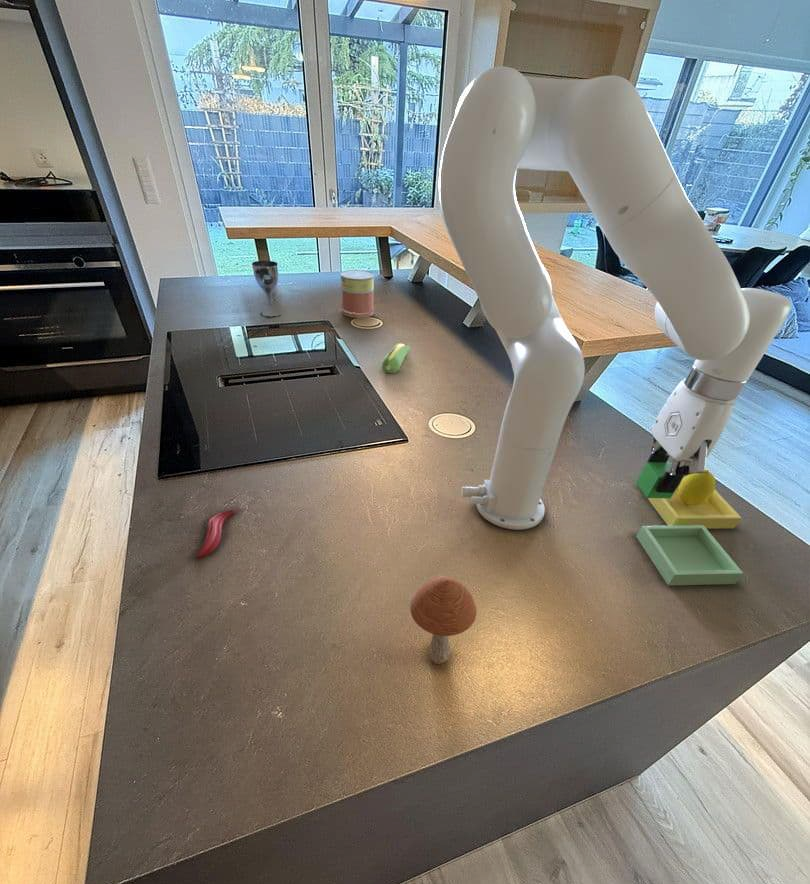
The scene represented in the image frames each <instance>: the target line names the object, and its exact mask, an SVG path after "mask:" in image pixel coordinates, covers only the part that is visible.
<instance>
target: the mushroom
mask: <svg viewBox="0 0 810 884" xmlns="http://www.w3.org/2000/svg"><path fill="white" fill-rule="evenodd" d="M409 606H410V607H409V608H410V615H411V617H412V619H413V621H414V622H415V623H416V624H417V626H418V627H419V628H421V630H423V631H425V632H427V633H429V634H431V635H432V636H431V640H430V644H429V650H428V652H429V659H430V661H431V662H433V664H435V665H442V664H445V663H446V662H447V661H448V659H449V657H450V637H451V636H457V635H460V634H462V633H464V632H465V631H467V630H468V629H470V628H471V627H472V625H473V624H474V623H475V621H476V618H477V606H476V603H475V601H474V598H473V595H472V594H471V592H470V590H469V589H468V588H467V587H466V585H464V584H463V583H462V582H461V581H459V580H458V579H456V578H455V577H451V576H445V575H442V576H437V577H434V578H432V579H430V580H427V581H426V582H425V583H424V584H422V586H421V587H419V588H418V590H417V592H415V593H414V595H413V597H412V598H411V601H410V605H409Z"/></svg>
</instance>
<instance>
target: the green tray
mask: <svg viewBox="0 0 810 884" xmlns="http://www.w3.org/2000/svg"><path fill="white" fill-rule="evenodd" d="M636 538H637V540H638V542H639V543H640V545H641V546H642V549H644V552H646V554H647V556H648V557H649V559H650V560H651V562H652V563H653V565H654V566H655V568H656V569H657V571H658V572H659V574H660V576H661V578H663V580H664V582H665V583H666V585H667V586H704V585H705V586H707V585H736V583H737V582H738V581H739V580H740V579H741V577H742V576H743V574H744V572H743V571H742V569H740V568H739V566H738V565H737V564H736V562H735V561H734V560H733V559H732V557H731V556H730V555H729V554H728V553H727V551H726V550H725V549H724V547H722V545H721V544H720V543H719V542H718V541H717V540H716V539H715V537H714V536H713V534H712V533H710V531H709V530H708V529H706V528H705V526H704V525H700V526H699V525H693V526H668V525H642V526H641V527H640V528H639V530H638V533H637V534H636Z"/></svg>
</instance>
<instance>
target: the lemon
mask: <svg viewBox="0 0 810 884" xmlns="http://www.w3.org/2000/svg"><path fill="white" fill-rule="evenodd" d="M683 478H684V479H683V480H682V482H681V484H680V486H679V489H678V495H679V497H680V499H681V500H682V501H683V502H684V503H685V505H700V504H702V503H704V502H706V501H707V500H708V499H709V498H710V497H711V495H712V494H713V492H714V489H715V490H716V484H717V483H716V482H717V481H716V478H715V475H714V474H712V473H711V472H710V470H708V469H705V471H704V473H693V474H689V475H688V476H684V477H683Z"/></svg>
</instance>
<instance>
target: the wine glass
mask: <svg viewBox="0 0 810 884" xmlns="http://www.w3.org/2000/svg"><path fill="white" fill-rule="evenodd" d="M251 268H252V272H253V277H254V280H255V282H256V284H257V285H258V286H259V288H260V289H261V290H262V291H263V292H264V293H265V295H266V297H267V301H268V307H272V308H273V306H272V294H273V292H274V290H275V289H276V287H277V286H278V282H279V264H278V262H276V261H273V260H272V261H271V260H257V261H253V262H251Z"/></svg>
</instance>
